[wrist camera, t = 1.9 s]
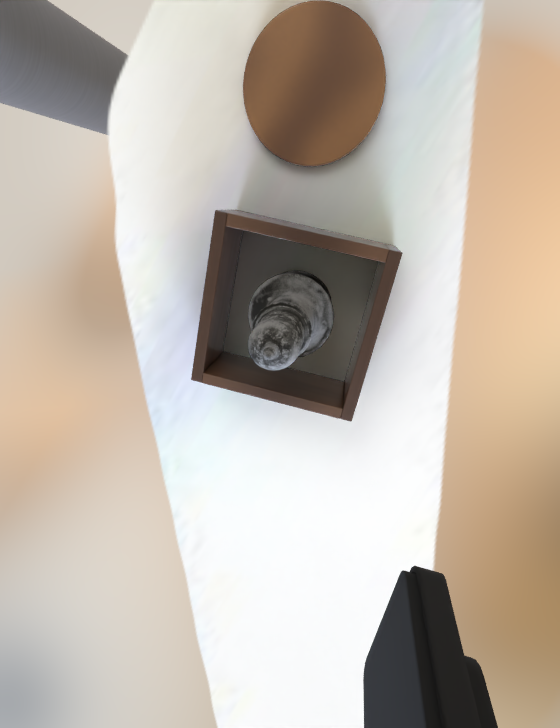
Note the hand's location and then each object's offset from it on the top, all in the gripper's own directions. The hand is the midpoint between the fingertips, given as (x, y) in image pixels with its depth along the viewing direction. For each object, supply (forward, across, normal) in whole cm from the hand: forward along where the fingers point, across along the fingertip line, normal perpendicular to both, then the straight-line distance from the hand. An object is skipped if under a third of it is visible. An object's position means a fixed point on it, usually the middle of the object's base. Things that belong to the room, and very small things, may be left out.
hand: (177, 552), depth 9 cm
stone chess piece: (+25, +1, 0) cm, 25 cm away
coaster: (+25, +3, -14) cm, 29 cm away
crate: (+25, +1, 0) cm, 25 cm away
